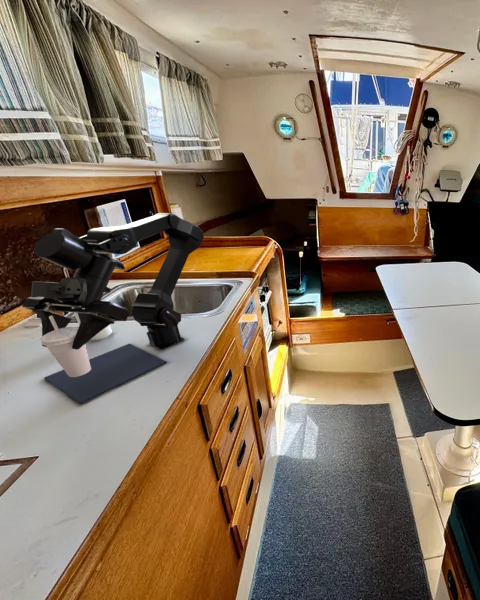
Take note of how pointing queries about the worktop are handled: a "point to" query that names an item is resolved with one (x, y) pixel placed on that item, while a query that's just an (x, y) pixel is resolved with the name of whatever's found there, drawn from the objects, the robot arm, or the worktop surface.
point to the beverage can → (101, 334)
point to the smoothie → (67, 350)
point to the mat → (106, 373)
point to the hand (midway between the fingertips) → (60, 347)
